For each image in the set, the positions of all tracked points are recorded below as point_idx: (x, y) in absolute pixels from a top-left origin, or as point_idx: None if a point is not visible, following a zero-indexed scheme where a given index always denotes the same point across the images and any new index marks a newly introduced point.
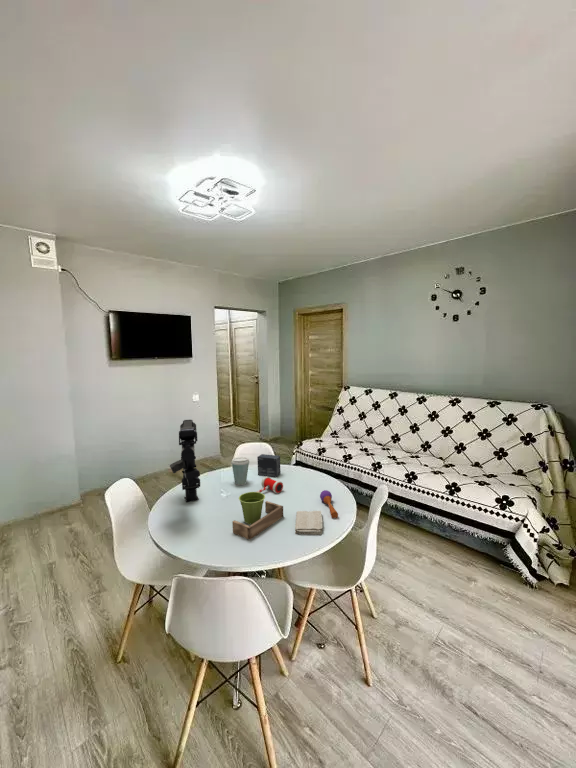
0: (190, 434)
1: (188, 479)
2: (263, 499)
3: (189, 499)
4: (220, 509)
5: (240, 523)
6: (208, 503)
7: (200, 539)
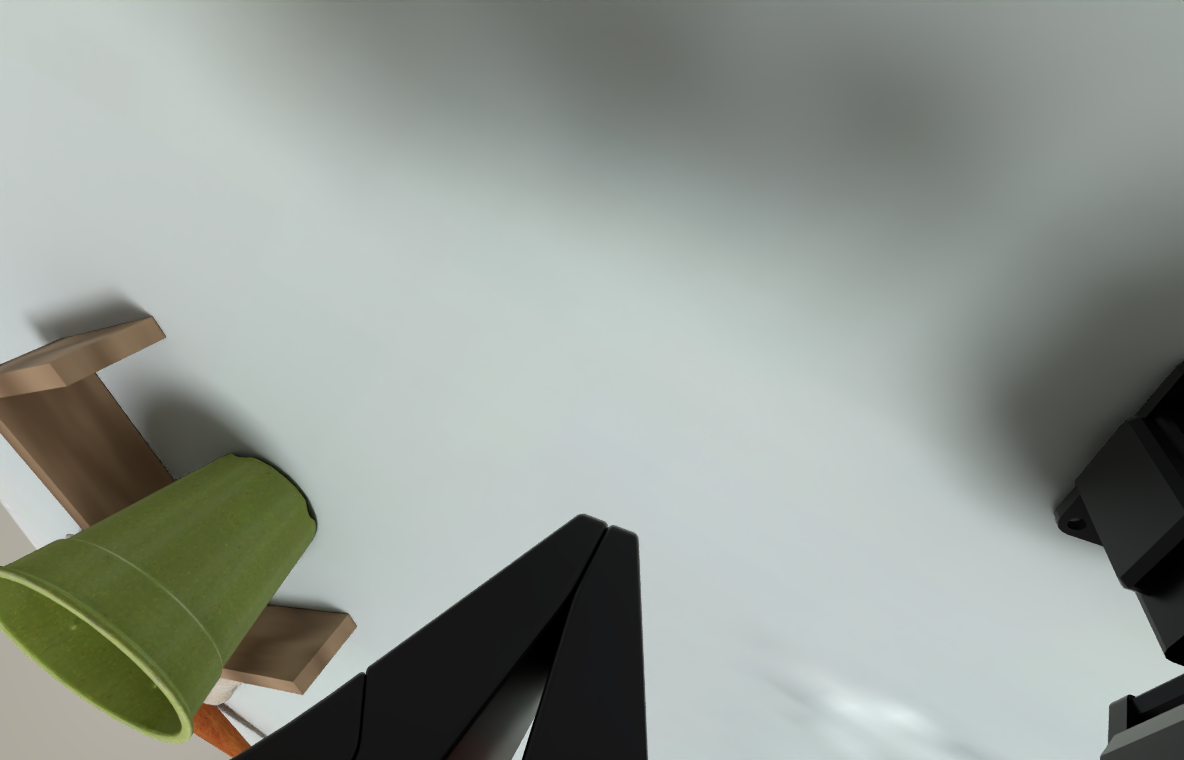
0: None
1: (282, 753)
2: (37, 662)
3: (1168, 428)
4: (568, 493)
5: (17, 384)
6: (809, 514)
7: (96, 32)
